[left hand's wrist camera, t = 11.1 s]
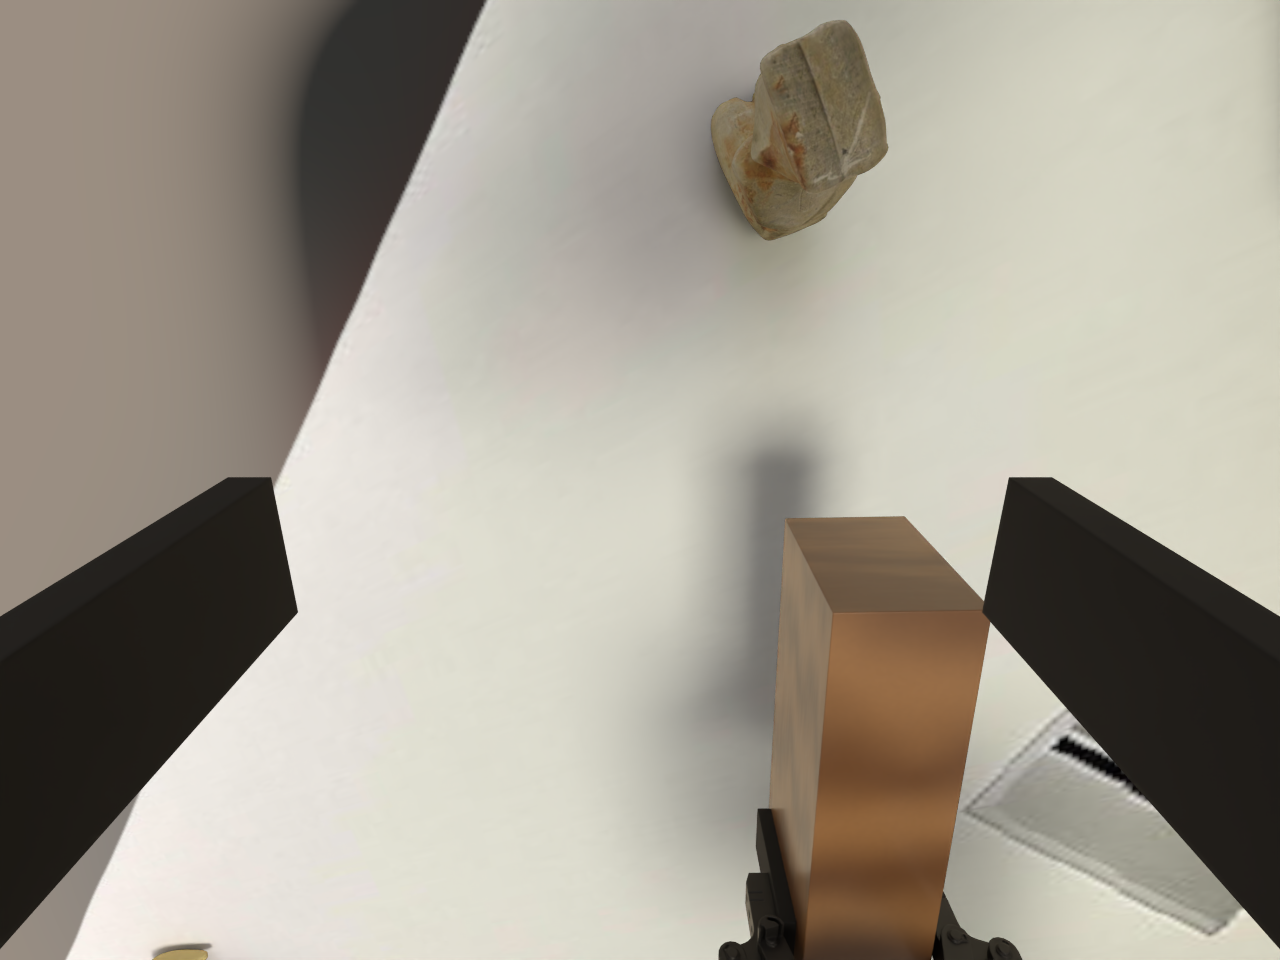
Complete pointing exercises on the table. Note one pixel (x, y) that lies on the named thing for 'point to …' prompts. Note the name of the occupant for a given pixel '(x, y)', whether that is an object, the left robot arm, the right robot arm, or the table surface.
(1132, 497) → the table surface
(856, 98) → the sculpture
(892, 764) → the bar
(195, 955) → the toy gun
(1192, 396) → the table surface
